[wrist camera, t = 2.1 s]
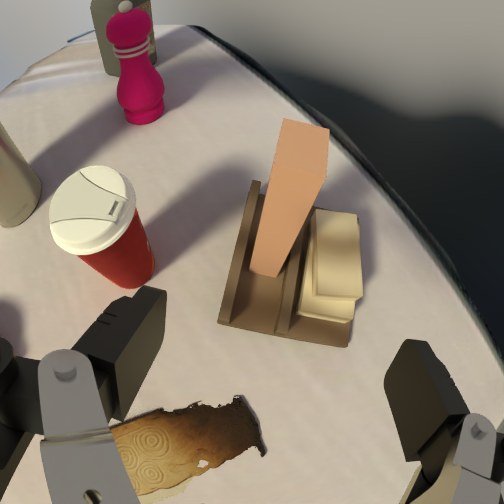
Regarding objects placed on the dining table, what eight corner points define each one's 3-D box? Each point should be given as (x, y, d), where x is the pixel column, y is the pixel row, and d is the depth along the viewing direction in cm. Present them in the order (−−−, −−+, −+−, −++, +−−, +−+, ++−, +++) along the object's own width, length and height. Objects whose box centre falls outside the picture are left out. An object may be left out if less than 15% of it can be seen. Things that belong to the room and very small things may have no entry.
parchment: (86, 518, 20) (83, 521, 20) (44, 449, 23) (40, 450, 22) (274, 451, 27) (275, 453, 26) (228, 375, 30) (229, 375, 29)
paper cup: (172, 244, 35) (147, 168, 22) (151, 307, 32) (106, 260, 19) (114, 228, 35) (70, 155, 22) (91, 286, 32) (27, 233, 19)
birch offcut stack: (344, 323, 32) (362, 314, 27) (292, 313, 32) (303, 303, 27) (352, 233, 36) (367, 215, 32) (306, 222, 36) (316, 202, 32)
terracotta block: (276, 277, 33) (326, 176, 16) (248, 271, 33) (273, 164, 16) (282, 244, 35) (329, 129, 18) (255, 238, 35) (283, 118, 18)
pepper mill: (129, 99, 44) (108, -4, 25) (171, 97, 44) (160, -12, 26) (118, 128, 41) (86, 17, 23) (162, 126, 42) (144, 7, 23)
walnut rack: (344, 347, 32) (356, 344, 28) (217, 323, 32) (216, 317, 28) (355, 221, 38) (366, 207, 35) (248, 196, 38) (251, 179, 35)
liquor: (100, 74, 47) (71, -57, 19) (130, 51, 50) (114, -71, 23) (132, 82, 46) (109, -67, 18) (163, 58, 49) (154, -78, 22)
